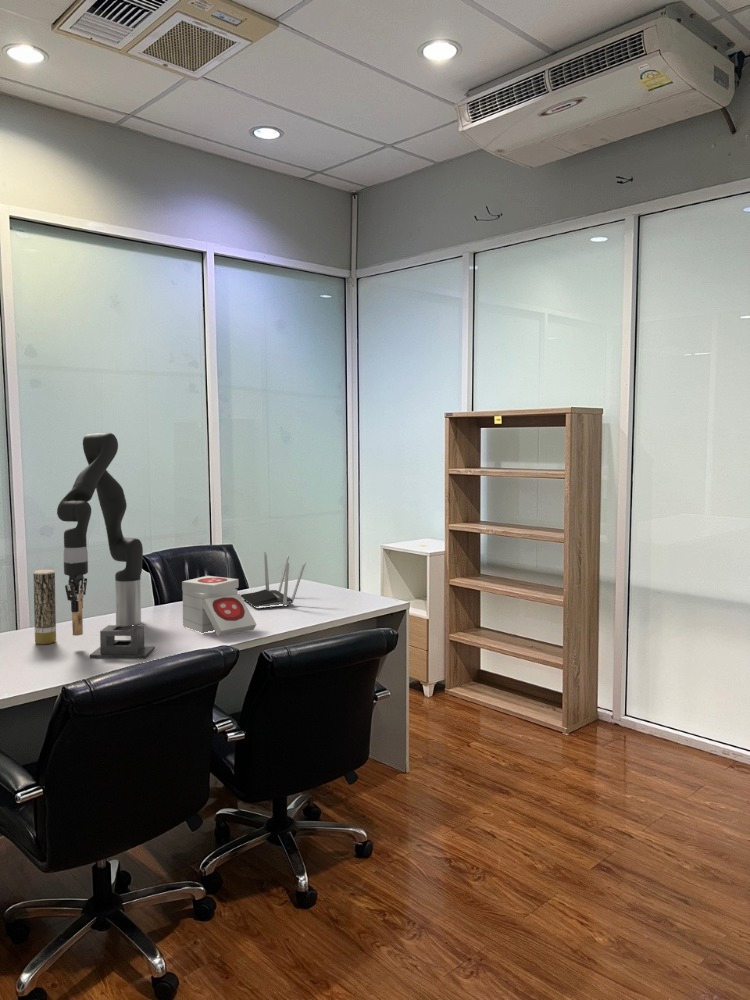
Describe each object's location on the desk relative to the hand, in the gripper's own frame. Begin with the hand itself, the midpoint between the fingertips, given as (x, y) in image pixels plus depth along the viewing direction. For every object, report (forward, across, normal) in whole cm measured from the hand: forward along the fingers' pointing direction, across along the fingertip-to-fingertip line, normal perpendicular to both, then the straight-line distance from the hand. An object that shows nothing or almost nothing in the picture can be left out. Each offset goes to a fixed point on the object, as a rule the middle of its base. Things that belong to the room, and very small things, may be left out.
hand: (77, 610), depth 257 cm
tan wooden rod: (+8, 0, 0) cm, 8 cm away
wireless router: (+15, -77, +56) cm, 96 cm away
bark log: (+13, -8, -14) cm, 21 cm away
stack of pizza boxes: (+14, -28, +42) cm, 52 cm away
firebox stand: (+13, +5, +17) cm, 22 cm away
